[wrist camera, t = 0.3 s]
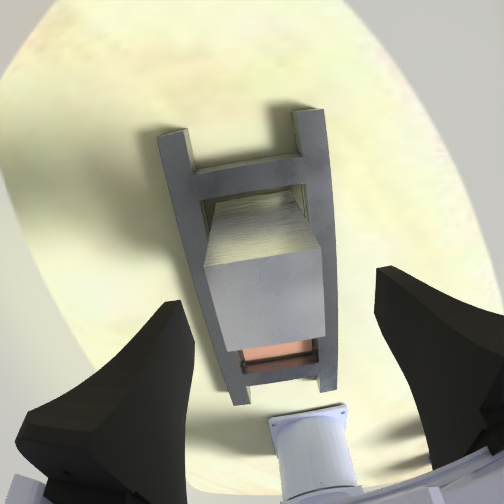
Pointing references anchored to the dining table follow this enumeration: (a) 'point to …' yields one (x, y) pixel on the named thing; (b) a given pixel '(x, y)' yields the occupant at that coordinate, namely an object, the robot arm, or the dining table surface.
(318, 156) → the rail
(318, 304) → the steel peg
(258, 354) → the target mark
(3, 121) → the dining table surface
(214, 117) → the dining table surface
